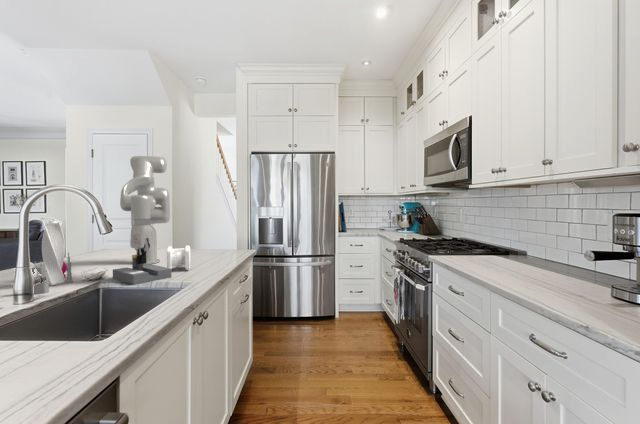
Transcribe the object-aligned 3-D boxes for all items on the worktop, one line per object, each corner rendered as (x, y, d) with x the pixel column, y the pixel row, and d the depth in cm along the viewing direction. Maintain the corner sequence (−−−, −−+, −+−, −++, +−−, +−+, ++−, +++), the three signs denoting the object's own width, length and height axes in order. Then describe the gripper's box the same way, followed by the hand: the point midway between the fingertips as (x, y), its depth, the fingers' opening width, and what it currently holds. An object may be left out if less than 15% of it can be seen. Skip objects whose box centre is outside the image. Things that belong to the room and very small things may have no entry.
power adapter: (32, 292, 119) (31, 260, 119) (49, 291, 121) (48, 259, 121) (27, 294, 116) (26, 262, 116) (45, 293, 118) (44, 261, 118)
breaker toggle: (132, 272, 144) (132, 254, 144) (139, 270, 147) (139, 253, 147) (135, 272, 142) (135, 255, 142) (143, 271, 145) (142, 254, 145)
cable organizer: (168, 267, 166) (168, 245, 165) (190, 266, 170) (190, 244, 169) (167, 273, 152) (166, 249, 152) (190, 271, 156) (190, 247, 156)
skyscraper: (51, 287, 127) (49, 217, 126) (37, 285, 129) (35, 217, 129) (73, 282, 135) (71, 216, 135) (58, 281, 137) (57, 216, 137)
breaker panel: (112, 278, 142) (112, 269, 141) (149, 272, 155) (149, 263, 154) (133, 284, 130) (133, 274, 130) (171, 277, 143) (171, 268, 143)
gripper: (124, 222, 143) (125, 263, 143) (140, 223, 134) (141, 266, 135) (141, 221, 149) (142, 260, 150) (158, 222, 140) (158, 264, 141)
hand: (141, 263), depth 142 cm, fingers closed
